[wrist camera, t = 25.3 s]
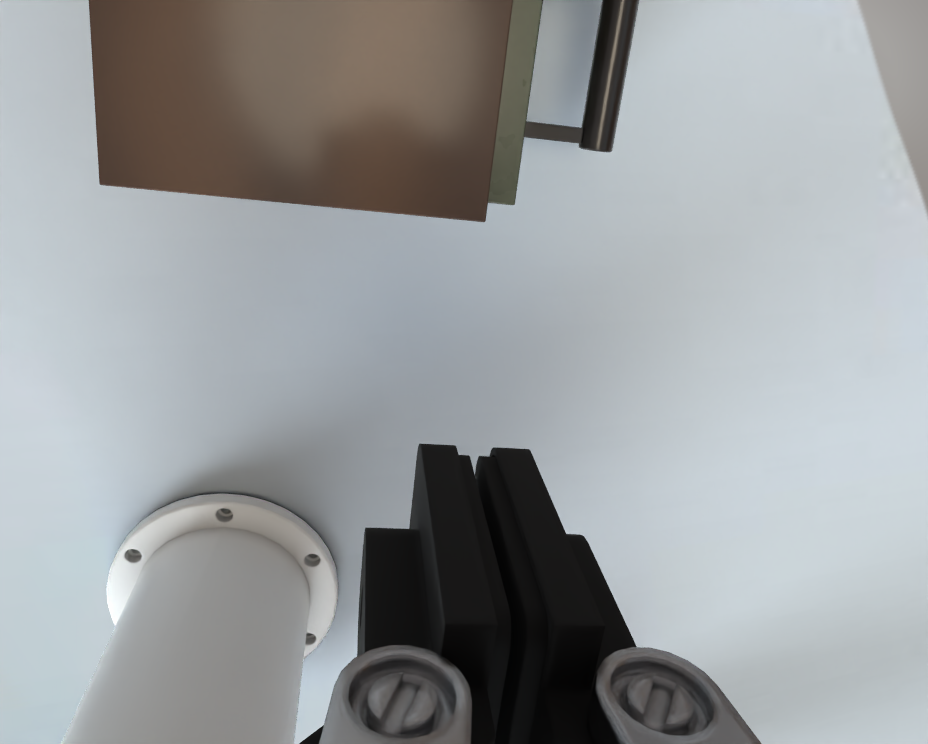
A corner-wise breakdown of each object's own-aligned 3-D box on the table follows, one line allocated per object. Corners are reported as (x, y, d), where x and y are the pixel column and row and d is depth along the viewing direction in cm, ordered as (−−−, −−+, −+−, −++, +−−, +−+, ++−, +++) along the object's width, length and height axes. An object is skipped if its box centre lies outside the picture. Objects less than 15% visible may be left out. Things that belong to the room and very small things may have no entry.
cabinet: (491, -112, 32) (535, -180, 23) (458, 188, 36) (485, 222, 28) (157, -168, 30) (72, -265, 21) (166, 158, 34) (98, 185, 26)
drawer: (619, -80, 32) (685, -122, 25) (574, 189, 36) (621, 216, 29) (212, -147, 29) (165, -213, 23) (214, 151, 33) (174, 171, 27)
